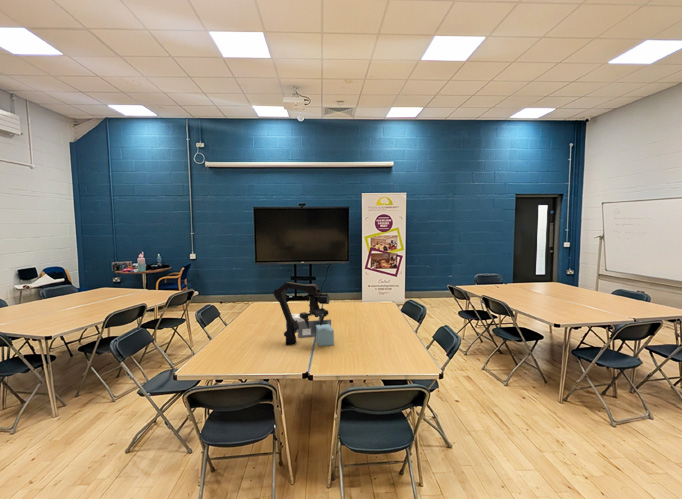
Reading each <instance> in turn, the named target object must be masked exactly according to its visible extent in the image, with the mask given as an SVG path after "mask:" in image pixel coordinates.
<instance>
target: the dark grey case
mask: <svg viewBox="0 0 682 499" xmlns="http://www.w3.org/2000/svg"><path fill="white" fill-rule="evenodd" d="M308 322H309V328H308V327H307V325H306V323H305V321H300V322H298V324H299V329H298V332H297V338H299V339H300V338H316V325H320V319H317V320H308ZM325 324H330V325H331V326H332V319H331V318H329V319H323V322H322V325H325Z"/></svg>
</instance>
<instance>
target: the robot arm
mask: <svg viewBox="0 0 682 499" xmlns="http://www.w3.org/2000/svg"><path fill="white" fill-rule="evenodd" d="M289 289H291V290H296V291H297V290H298V291H303V292H305V293H306V296H305V297H306V298H309V299H308V300H309V302H308V303H309V304H308V306H309V311H308V312H309V313H308V312H305V311H304V312H300V313H299V314H300V318H302V319H304V321H305V323H306V325H307V327H308V328H309V322H308V321H310V318H309V317H311V316H314V317H315V318H319V320H320V325H322V322H323V320H325V318H326V317H327V316H329V310H327V309H326V308H324V307H321V308H320V305H329V304H330V301H331V300H330V295H329V293H323V292H322V291H321V289H320V287H319V286H318V284H316V283H310V284H305V283H304V284H303V283H298V282H291V281H286V282H285V283H283V285H281V286H280V287H278V288H276V289H274V290H273V296H274V298H275V300H277V302H278V303H279V305H280V308H281V310H282V311H281V312H282V314H283V316H284V319H285V329H286V328H287V330H285V331H284V332H283V337H285V346H295V345H296V344H297V336H296V333H297V332H296V331H297V330H298V329H299V324H298V322H297V320H296V321H295V320H294V319H293V317H292V315H291V314H292V312H291V309H290V307H289V305H288V301H287V293H286V292H287V291H288V290H289ZM319 304H320V305H319Z"/></svg>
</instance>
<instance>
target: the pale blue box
mask: <svg viewBox="0 0 682 499" xmlns="http://www.w3.org/2000/svg"><path fill="white" fill-rule="evenodd" d="M334 332H335V331H334V329H333V327H332V324H331V325H330V324H325V325H316V337H315V340H316V342H317V345H318V347H326V346H327V347H328V346H334V344H335V342H334V341H335V337H334V336H335V334H334Z"/></svg>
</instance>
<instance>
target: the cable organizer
mask: <svg viewBox="0 0 682 499" xmlns="http://www.w3.org/2000/svg"><path fill="white" fill-rule="evenodd" d="M291 315H292V317H293V319H294V320H295V321H296V320H297V322H300V321H304V319H302V318H300V313H291ZM285 329H286V330H285V331H287V328H286V327H285ZM296 333H298V330H297V331H296Z"/></svg>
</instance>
